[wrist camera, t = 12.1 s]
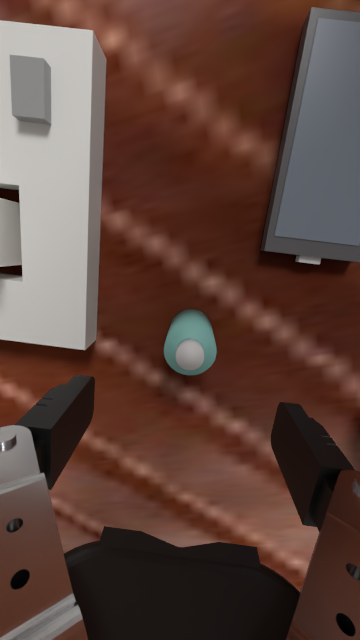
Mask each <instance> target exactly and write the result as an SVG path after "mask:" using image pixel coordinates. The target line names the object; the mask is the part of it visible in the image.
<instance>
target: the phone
mask: <svg viewBox="0 0 360 640" xmlns="http://www.w3.org/2000/svg"><path fill="white" fill-rule="evenodd" d="M260 251H268V252H276V253H285V254H293V255H297V256H296V260H295V262H302V263H310V264H319V265H320V262H321V258H326V259H334V260H342V261H350V262H360V12H351V11H342V10H332V9H323V8H313V7H311V9H310V12H309V14H308V16H307V18H306V20H305V22H304V24H303V29H302V34H301V40H300V45H299V50H298V55H297V61H296V66H295V71H294V76H293V82H292V87H291V92H290V97H289V103H288V108H287V113H286V118H285V124H284V129H283V134H282V139H281V145H280V150H279V155H278V160H277V166H276V171H275V176H274V181H273V187H272V192H271V197H270V202H269V208H268V213H267V218H266V223H265V229H264V234H263V239H262V244H261V250H260Z"/></svg>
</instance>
